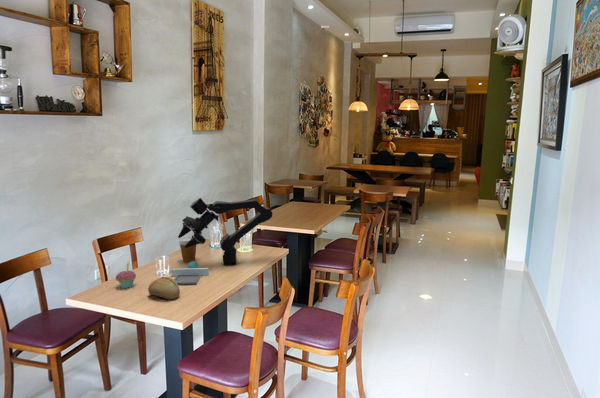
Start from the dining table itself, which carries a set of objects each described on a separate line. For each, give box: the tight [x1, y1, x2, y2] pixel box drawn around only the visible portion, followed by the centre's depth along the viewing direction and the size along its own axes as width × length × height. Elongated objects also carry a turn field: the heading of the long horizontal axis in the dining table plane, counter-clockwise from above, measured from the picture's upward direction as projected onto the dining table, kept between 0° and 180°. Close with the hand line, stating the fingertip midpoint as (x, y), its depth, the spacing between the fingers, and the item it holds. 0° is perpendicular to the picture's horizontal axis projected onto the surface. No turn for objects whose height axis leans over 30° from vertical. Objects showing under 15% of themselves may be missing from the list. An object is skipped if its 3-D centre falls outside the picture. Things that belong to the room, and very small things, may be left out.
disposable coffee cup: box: [178, 236, 197, 264], centre depth 240 cm, size 10×10×12 cm
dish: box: [173, 274, 202, 286], centre depth 210 cm, size 11×11×1 cm
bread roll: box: [147, 276, 181, 300], centre depth 191 cm, size 10×15×8 cm, turn 65°
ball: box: [187, 260, 199, 268], centre depth 224 cm, size 5×5×5 cm
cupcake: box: [115, 261, 137, 289], centre depth 203 cm, size 9×8×12 cm
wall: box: [170, 267, 210, 277], centre depth 217 cm, size 18×1×4 cm, turn 91°
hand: (181, 242), depth 227 cm, fingers open, 9 cm apart
